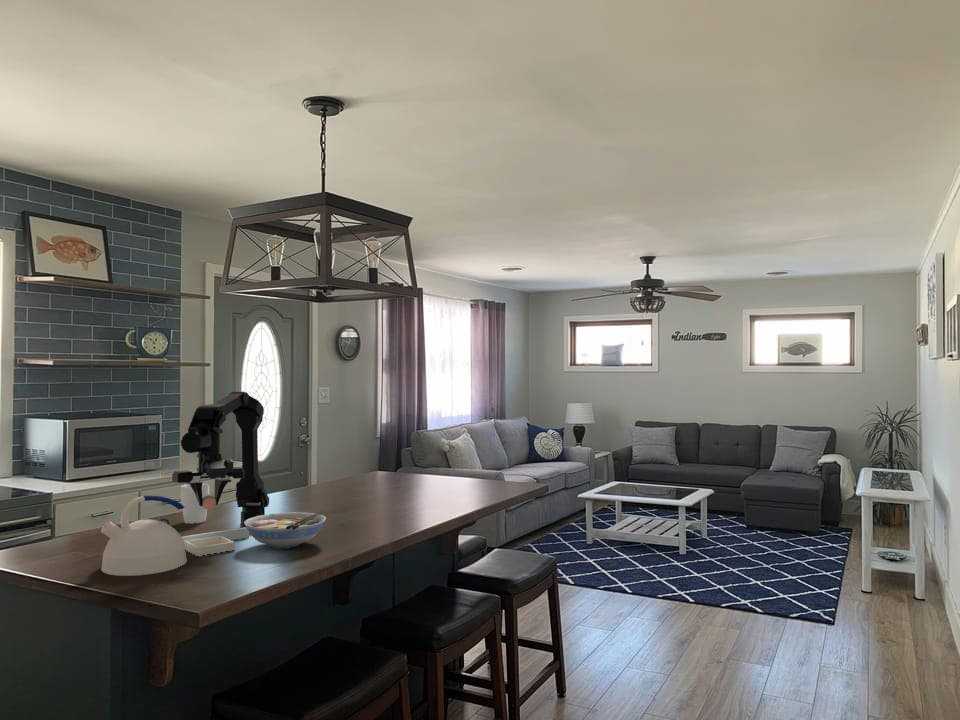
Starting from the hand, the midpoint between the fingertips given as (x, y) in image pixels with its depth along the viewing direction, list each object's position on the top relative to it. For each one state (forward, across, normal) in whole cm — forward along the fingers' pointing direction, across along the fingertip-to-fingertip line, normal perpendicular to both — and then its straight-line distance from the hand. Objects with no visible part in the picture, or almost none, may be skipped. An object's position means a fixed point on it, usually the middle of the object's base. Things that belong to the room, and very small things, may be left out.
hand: (208, 505), depth 214 cm
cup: (+11, +9, +39) cm, 41 cm away
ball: (-1, 0, 0) cm, 1 cm away
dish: (+12, -1, -4) cm, 12 cm away
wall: (+12, +4, +4) cm, 13 cm away
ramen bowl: (+12, +18, -12) cm, 25 cm away
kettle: (+13, -19, -9) cm, 25 cm away
